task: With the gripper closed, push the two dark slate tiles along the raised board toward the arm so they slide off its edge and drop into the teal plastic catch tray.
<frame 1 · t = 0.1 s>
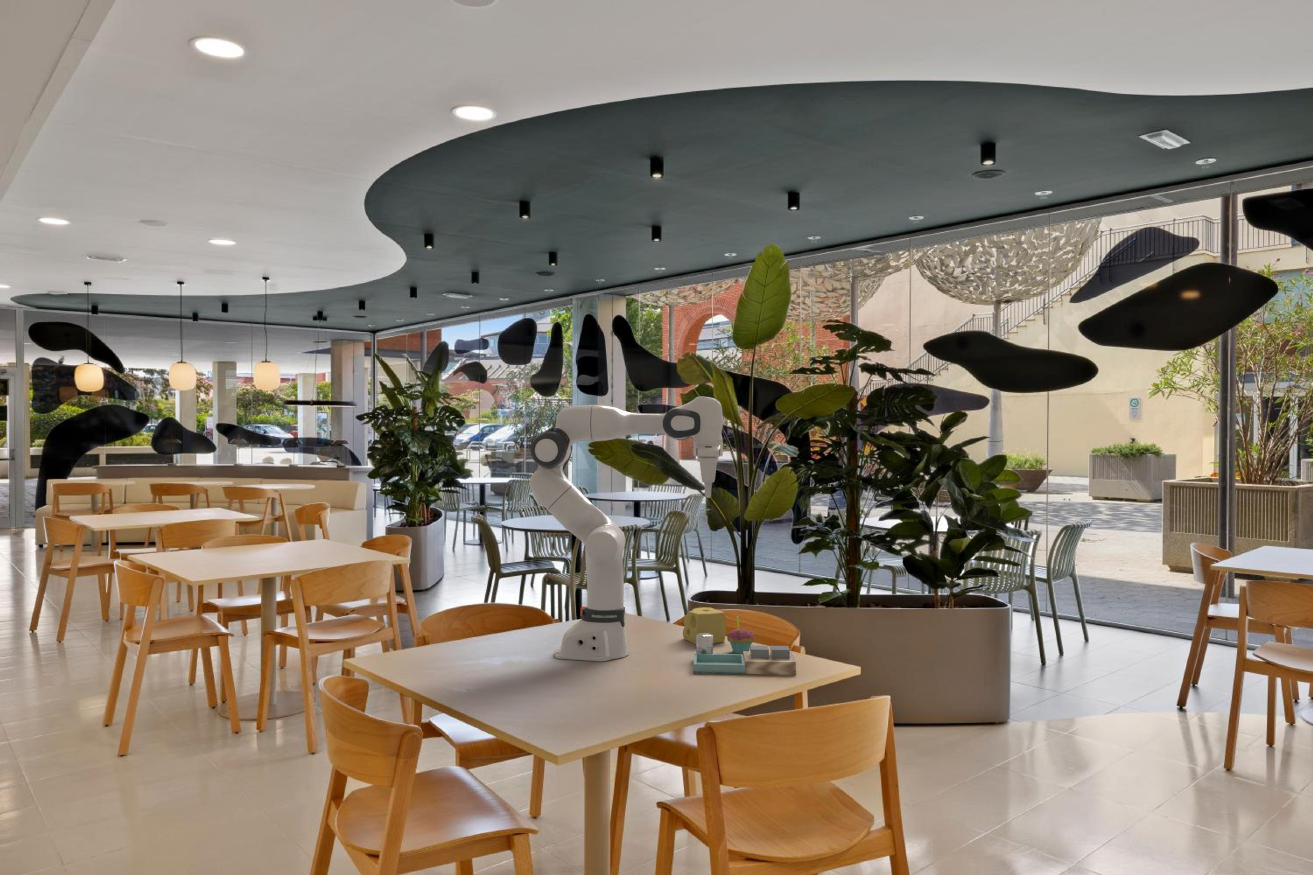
hand: (707, 496, 272), 48 cm above the table, fingers open, 8 cm apart
cupcake: (740, 652, 278), on the table
board: (768, 668, 257), on the table
tile 1: (759, 656, 257), point 3 cm above the table, touching board
tray: (719, 667, 258), on the table
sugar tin: (704, 658, 269), on the table
cheese: (704, 641, 293), on the table
tile 2: (779, 656, 257), point 3 cm above the table, touching board
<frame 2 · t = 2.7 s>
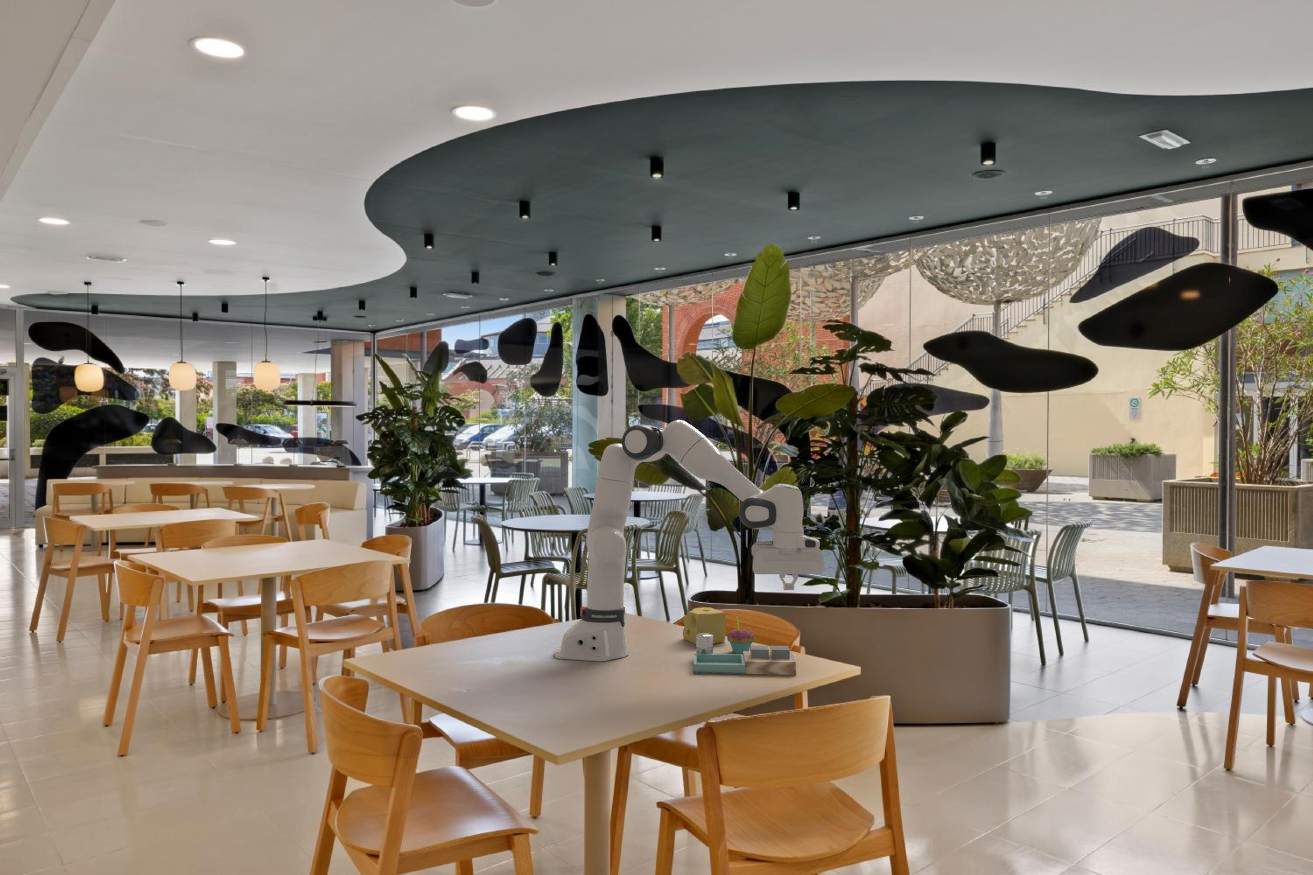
hand: (788, 589, 257), 22 cm above the table, fingers closed
nothing on the table moved.
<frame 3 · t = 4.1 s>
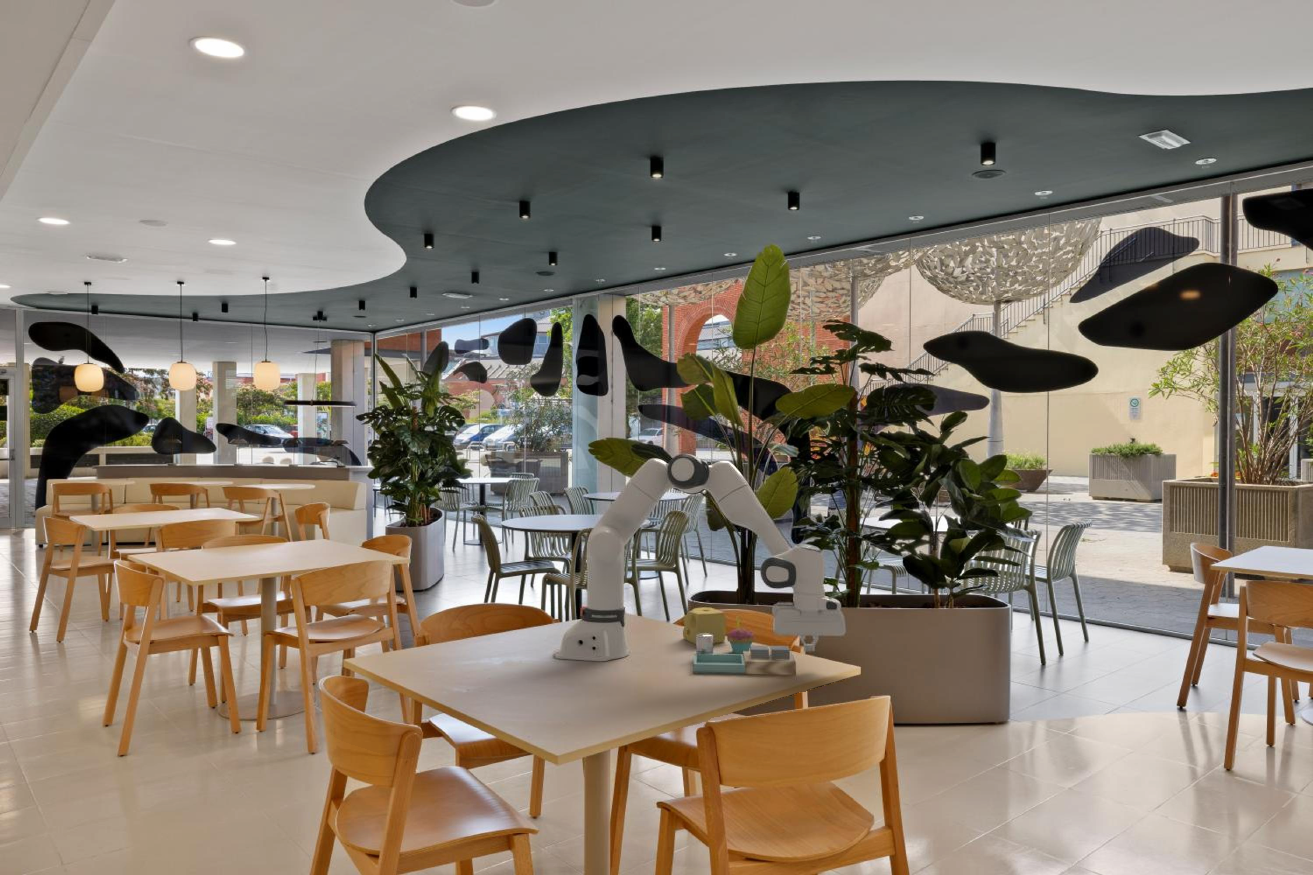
hand: (809, 650, 257), 5 cm above the table, fingers closed
nothing on the table moved.
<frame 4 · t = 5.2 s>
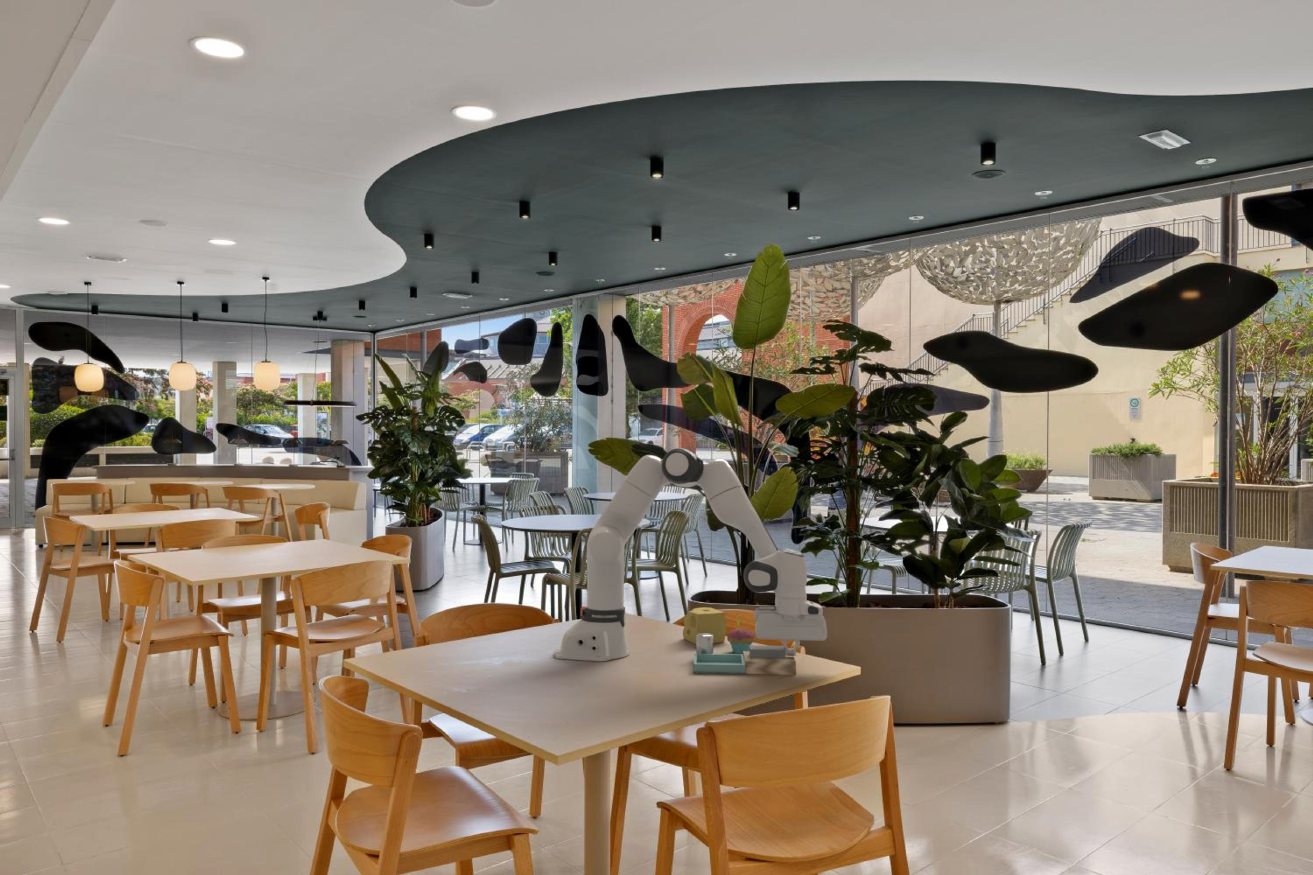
hand: (790, 655, 257), 4 cm above the table, fingers closed
tile 1: (758, 656, 257), point 4 cm above the table, touching tile 2
tile 2: (776, 656, 257), point 4 cm above the table, touching gripper, tile 1
everything else where it was.
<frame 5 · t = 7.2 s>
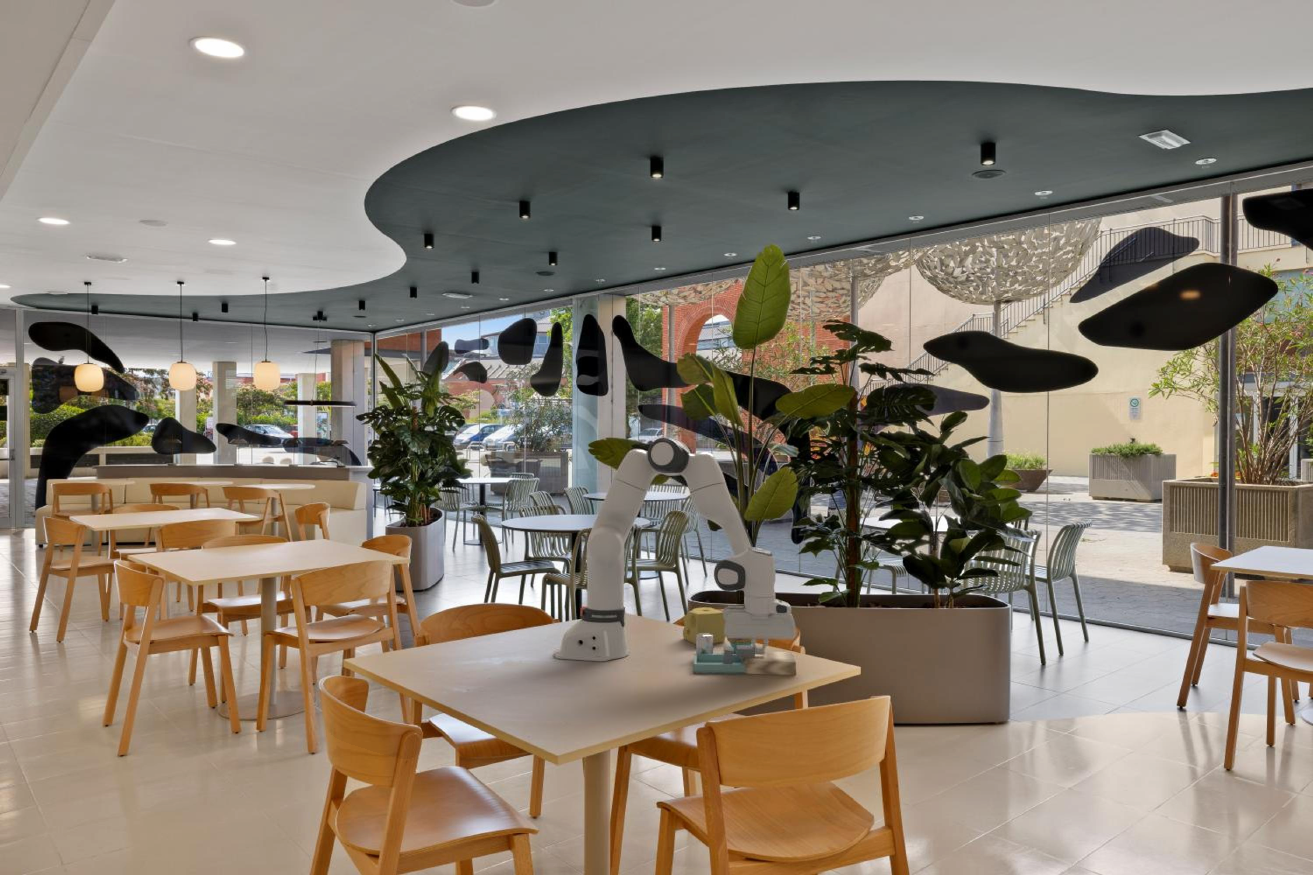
hand: (759, 653, 257), 4 cm above the table, fingers closed
tile 1: (732, 657, 258), point 3 cm above the table, tilted 84°, touching tray
tile 2: (745, 655, 258), point 4 cm above the table, touching gripper
everything else where it was.
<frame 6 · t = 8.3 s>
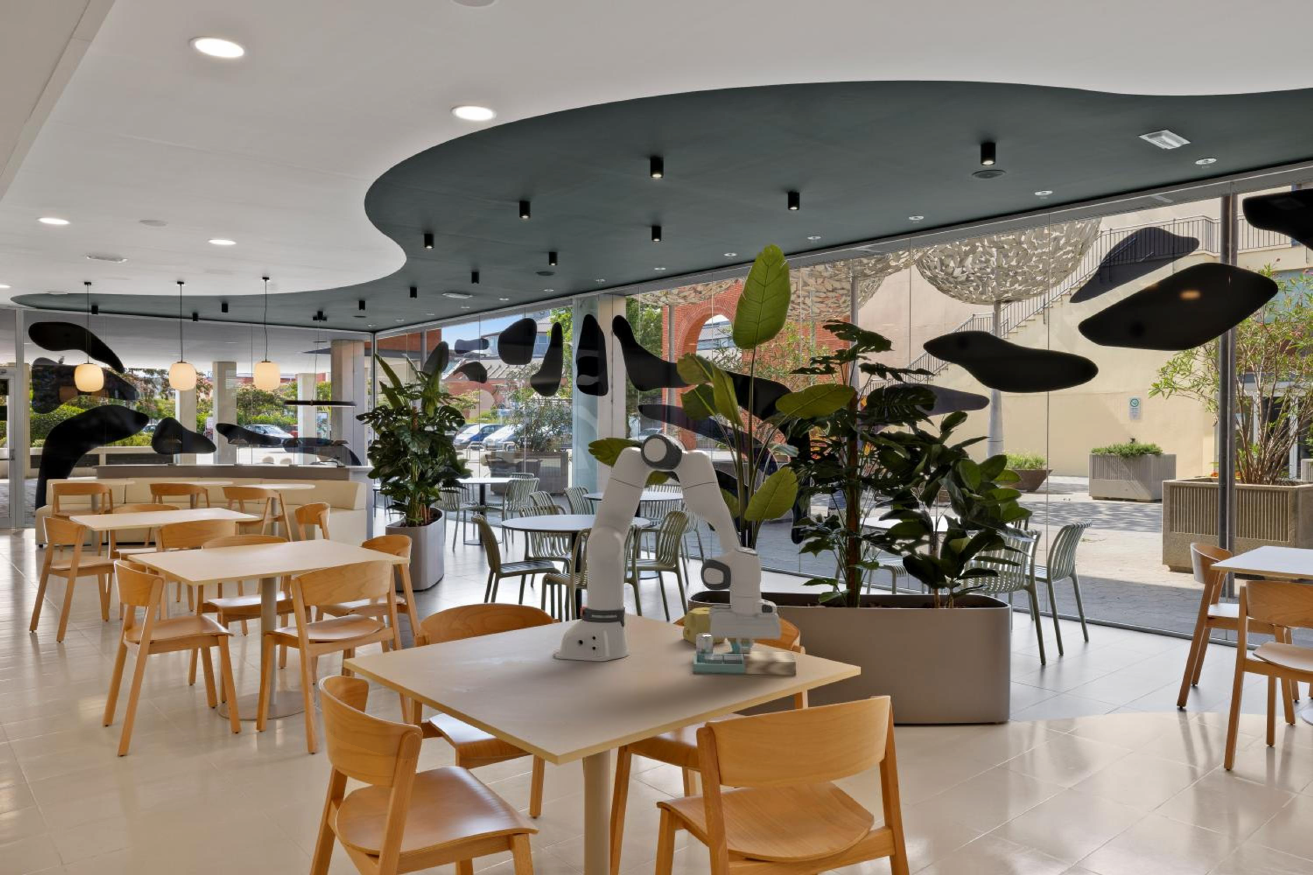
hand: (745, 653, 258), 4 cm above the table, fingers closed
tile 1: (713, 657, 258), point 3 cm above the table, tilted 180°, touching tray
tile 2: (732, 666, 258), resting on tray
everything else where it was.
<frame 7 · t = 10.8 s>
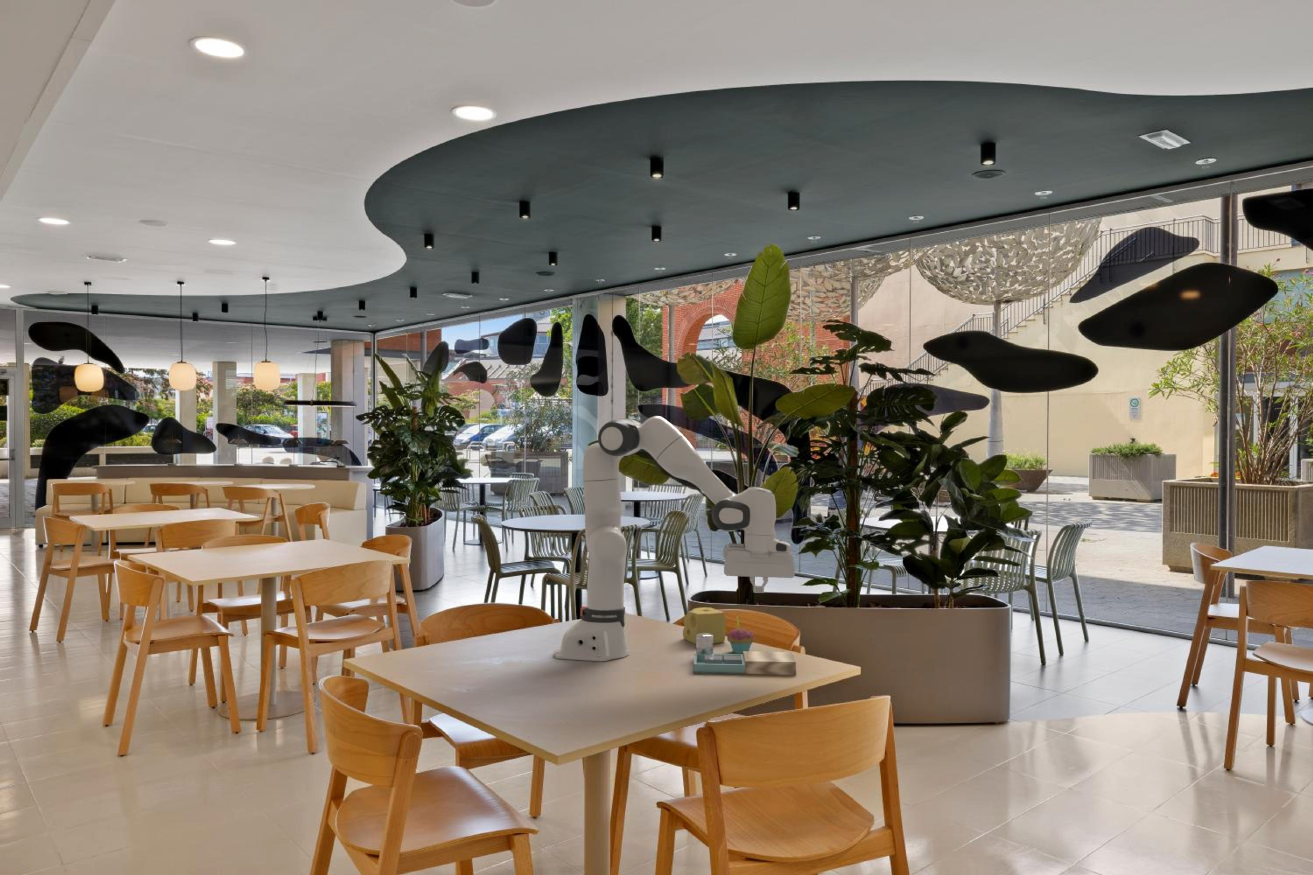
hand: (758, 592, 259), 21 cm above the table, fingers closed
nothing on the table moved.
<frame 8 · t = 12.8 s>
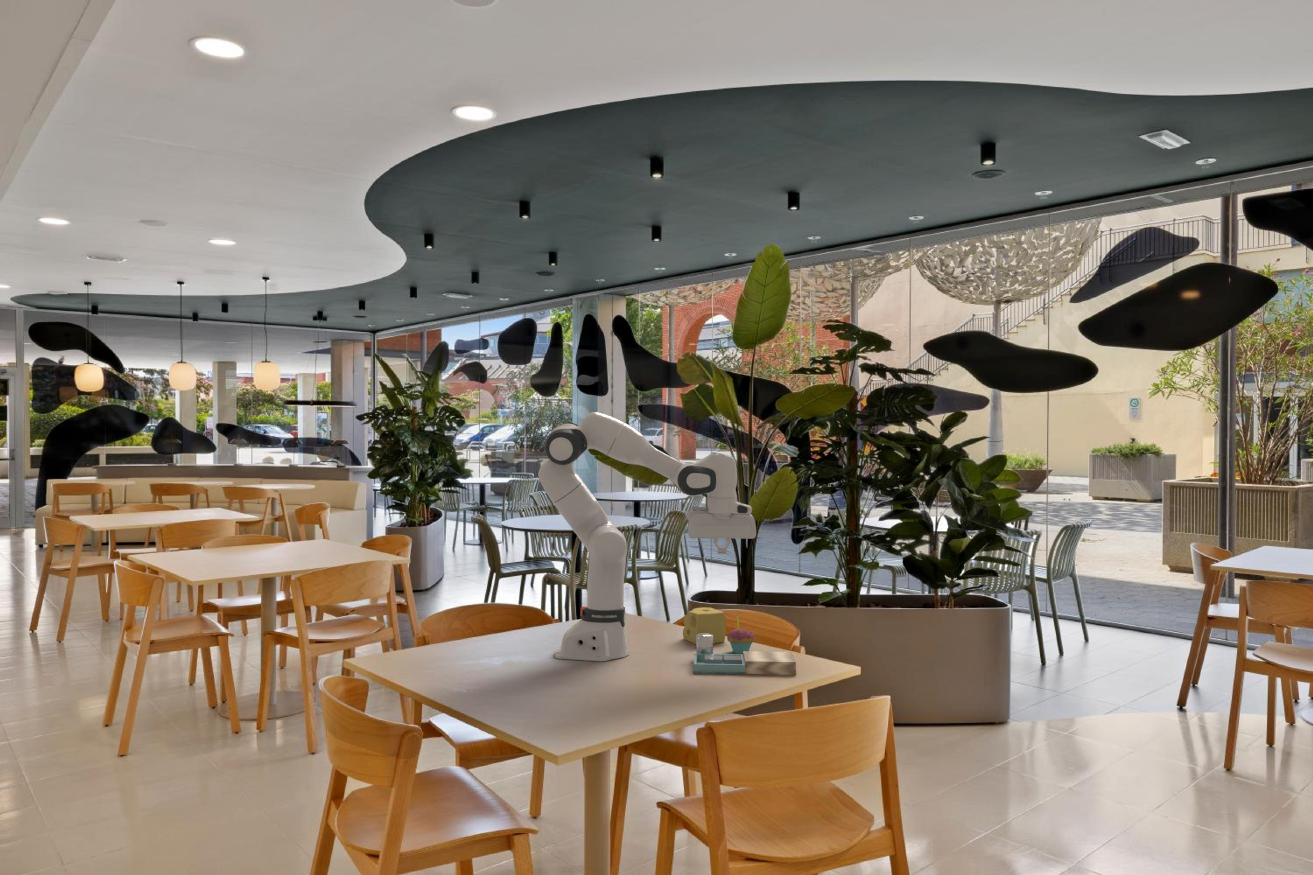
hand: (722, 553, 270), 31 cm above the table, fingers closed
nothing on the table moved.
at the end: tile 2 inside the target area on the tray (3.8 cm from its centre), point 0.5 cm above the tray's base; tile 1 inside the target area on the tray (1.6 cm from its centre), point 3.0 cm above the tray's base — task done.
